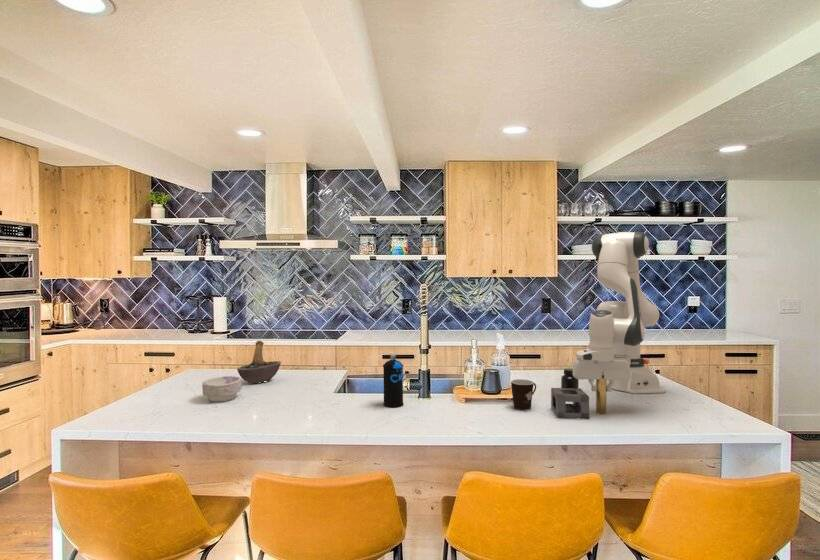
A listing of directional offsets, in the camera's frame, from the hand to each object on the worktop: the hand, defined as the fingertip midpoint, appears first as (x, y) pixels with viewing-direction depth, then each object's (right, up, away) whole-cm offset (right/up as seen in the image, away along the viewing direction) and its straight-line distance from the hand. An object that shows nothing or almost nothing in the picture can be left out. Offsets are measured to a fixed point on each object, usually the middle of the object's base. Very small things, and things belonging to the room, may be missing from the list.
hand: (601, 391), depth 167 cm
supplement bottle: (-5, -8, +19) cm, 21 cm away
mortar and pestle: (-144, -8, +47) cm, 152 cm away
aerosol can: (-78, -9, +11) cm, 79 cm away
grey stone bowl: (-151, -9, +21) cm, 152 cm away
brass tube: (0, -8, 0) cm, 8 cm away
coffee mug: (-26, -8, +7) cm, 29 cm away
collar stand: (-12, -8, -1) cm, 15 cm away
